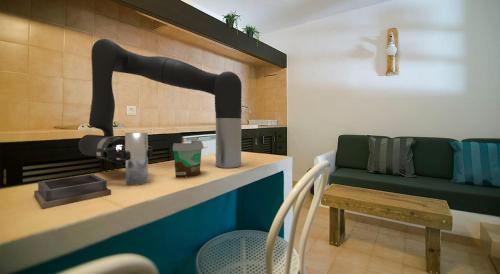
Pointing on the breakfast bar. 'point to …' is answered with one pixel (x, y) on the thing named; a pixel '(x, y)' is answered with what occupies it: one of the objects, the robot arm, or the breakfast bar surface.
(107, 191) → the holder
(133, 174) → the silver tall shiny block
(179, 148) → the food container
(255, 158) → the breakfast bar surface
